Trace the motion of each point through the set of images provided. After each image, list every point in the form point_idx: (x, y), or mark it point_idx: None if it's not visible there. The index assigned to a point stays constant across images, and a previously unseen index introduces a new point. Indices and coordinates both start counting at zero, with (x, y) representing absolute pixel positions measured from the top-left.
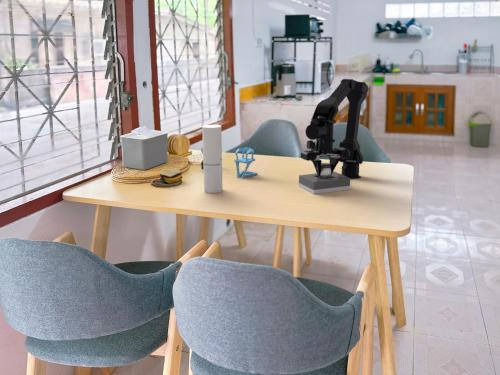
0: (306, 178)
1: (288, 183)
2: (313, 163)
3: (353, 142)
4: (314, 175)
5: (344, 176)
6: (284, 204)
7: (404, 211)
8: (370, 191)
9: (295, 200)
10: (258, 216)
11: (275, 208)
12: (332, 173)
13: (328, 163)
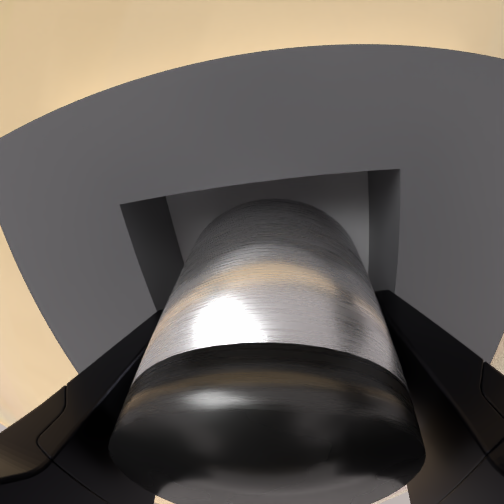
0: (43, 306)
1: (12, 23)
2: (8, 444)
3: None
4: (142, 197)
5: (489, 338)
6: (29, 400)
7: (385, 499)
8: (495, 368)
9: (54, 388)
10: (3, 424)
11: (16, 410)
12: (482, 162)
13: (409, 455)
